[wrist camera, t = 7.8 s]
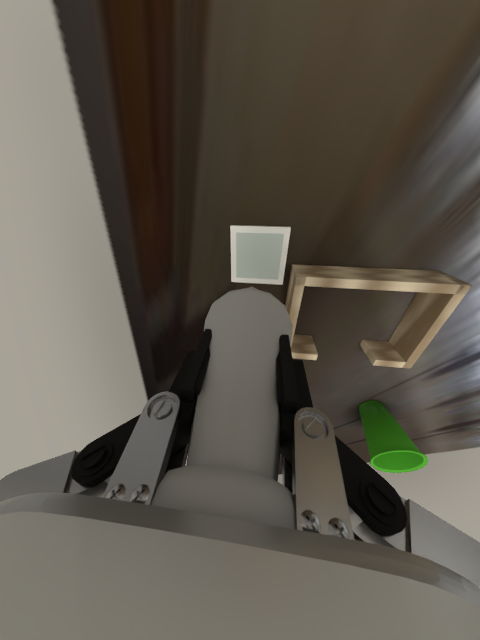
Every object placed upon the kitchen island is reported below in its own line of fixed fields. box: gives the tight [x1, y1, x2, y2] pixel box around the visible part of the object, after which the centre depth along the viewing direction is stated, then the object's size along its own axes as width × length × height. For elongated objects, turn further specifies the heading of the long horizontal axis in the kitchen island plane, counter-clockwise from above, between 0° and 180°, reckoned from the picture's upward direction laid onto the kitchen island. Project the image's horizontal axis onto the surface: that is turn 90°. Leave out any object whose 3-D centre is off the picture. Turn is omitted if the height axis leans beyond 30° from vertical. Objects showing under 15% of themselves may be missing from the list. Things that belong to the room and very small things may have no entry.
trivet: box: [230, 225, 291, 285], centre depth 27 cm, size 8×8×1 cm
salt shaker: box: [151, 287, 296, 529], centre depth 9 cm, size 6×6×13 cm
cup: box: [359, 400, 428, 473], centre depth 39 cm, size 9×9×11 cm
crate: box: [285, 264, 472, 368], centre depth 29 cm, size 20×14×5 cm
